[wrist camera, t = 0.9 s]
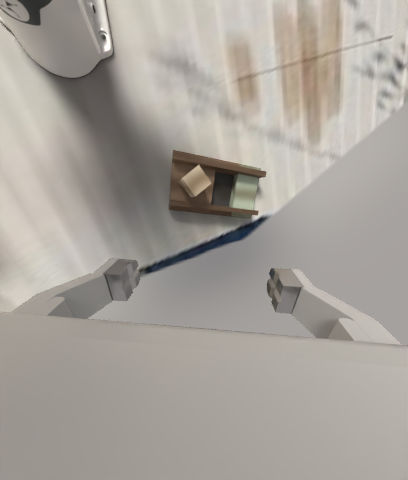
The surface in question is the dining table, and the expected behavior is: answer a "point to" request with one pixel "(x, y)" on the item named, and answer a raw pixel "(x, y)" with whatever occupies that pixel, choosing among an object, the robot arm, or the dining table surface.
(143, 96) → the dining table surface
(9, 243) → the dining table surface
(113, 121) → the dining table surface
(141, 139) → the dining table surface
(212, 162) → the channel deck
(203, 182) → the beech block
